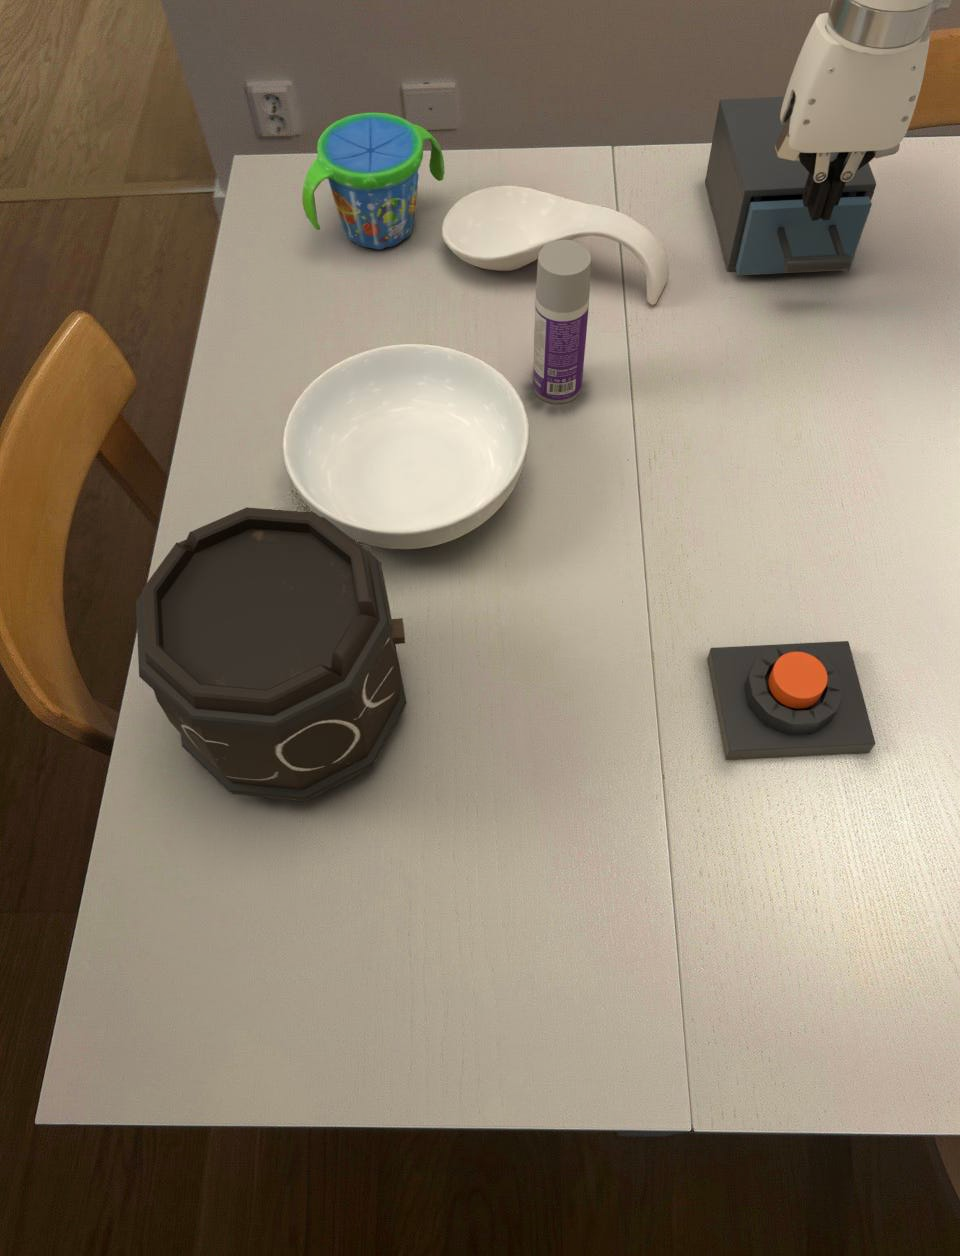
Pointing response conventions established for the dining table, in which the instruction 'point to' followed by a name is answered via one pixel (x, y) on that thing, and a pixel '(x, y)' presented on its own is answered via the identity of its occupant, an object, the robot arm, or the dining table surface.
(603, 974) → the dining table surface
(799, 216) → the blue cabinet drawer
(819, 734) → the dark grey button base
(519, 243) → the spoon rest
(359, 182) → the snack cup
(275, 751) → the dark grey faceted cylinder
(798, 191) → the grey cabinet body
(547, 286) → the container
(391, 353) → the serving bowl
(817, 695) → the button
